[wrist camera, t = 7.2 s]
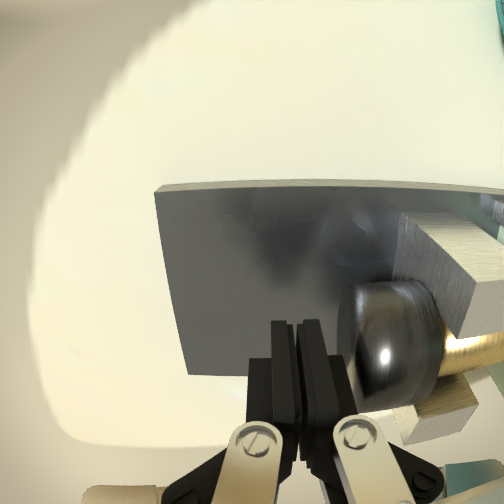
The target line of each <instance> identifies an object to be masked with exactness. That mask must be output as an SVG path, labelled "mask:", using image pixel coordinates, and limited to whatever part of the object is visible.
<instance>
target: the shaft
mask: <svg viewBox="0 0 504 504" xmlns="http://www.w3.org/2000/svg"><path fill="white" fill-rule="evenodd" d="M338 354H341V355H342V356H343V359H344V362H345V366H346V369H347V373H348V377H349V381H350V384H351V388H352V392H353V396H354V400H355V404H356V408H357V412H358V414H359V413H367V412H374V411H381V410H388V409H394V408H400V407H405V406H411V405H416V404H420V403H422V402H424V401H425V400H426V399H427V398H428V397H429V395H430V394H431V392H432V391H433V389H434V386H435V384H436V382H437V378H438V377H441V376H446V375H451V374H456V373H460V372H464V371H469V370H473V369H477V368H481V367H485V366H489V365H492V364H496V363H500V362H503V361H504V331H502V332H498V333H493V334H488V335H483V336H478V337H473V338H468V339H462V340H456V339H455V337H454V336H453V334H452V333H451V331H450V330H449V328H448V327H447V325H446V324H445V322H444V321H443V319H442V318H441V316H440V315H439V313H438V312H437V309H436V306H435V304H434V301H433V299H432V297H431V295H430V294H429V292H428V290H427V289H426V288H425V287H424V286H423V285H422V284H421V283H420V282H418V281H415V280H406V281H387V282H367V283H349V284H347V285H346V286H345V288H344V290H343V292H342V295H341V299H340V304H339V310H338V319H337V355H338Z"/></svg>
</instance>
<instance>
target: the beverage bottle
mask: <svg viewBox="0 0 504 504" xmlns="http://www.w3.org/2000/svg"><path fill="white" fill-rule="evenodd" d="M496 10H497V15H498V20H499V23H500V27H501V29H502V32H503V35H504V0H496Z"/></svg>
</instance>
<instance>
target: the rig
mask: <svg viewBox="0 0 504 504" xmlns="http://www.w3.org/2000/svg"><path fill="white" fill-rule="evenodd" d="M154 197H155V204H156V211H157V218H158V225H159V232H160V238H161V244H162V250H163V256H164V262H165V268H166V273H167V279H168V284H169V290H170V295H171V300H172V305H173V310H174V314H175V319H176V324H177V329H178V333H179V338H180V342H181V346H182V351H183V355H184V359H185V363H186V367H187V371H188V375H211V376H248V369H249V358H271V321H274V320H286V321H287V324H293V331H294V339H295V347H296V331H297V324H302V322H303V320H304V319H319V321H320V325H321V329H322V333H323V338H324V342H325V346H326V351H327V355H337V319H338V310H339V304H340V299H341V295H342V292H343V290H344V288H345V286H346V285H347V284H349V283H367V282H387V281H406V280H415V281H418V282H420V283H421V284H422V285H423V286H424V287H425V288H426V289H427V290H428V292H429V294H430V295H431V297H432V299H433V301H434V304H435V306H436V309H437V312H438V313H439V315H440V316H441V318H442V319H443V321H444V322H445V324H446V325H447V327H448V328H449V330H450V331H451V333H452V334H453V336H454V337H455V339H456V340H462V339H468V338H473V337H478V336H483V335H488V334H493V333H498V332H502V331H504V246H503V245H502V244H501V243H499V242H498V241H497V237H498V232H499V228H500V224H502V225H503V226H504V190H503V189H494V188H484V187H474V186H463V185H450V184H437V183H421V182H403V181H379V180H336V179H292V180H247V181H223V182H203V183H187V184H172V185H162V186H161V187H160V188H159V189H157V190H156V191H155V192H154ZM478 405H479V403H478V401H477V399H476V397H475V396H474V394H473V392H472V390H471V388H470V386H469V384H468V383H467V381H466V379H465V377H464V375H463V374H462V372H460V373H456V374H451V375H446V376H441V377H438V378H437V382H436V384H435V386H434V389H433V391H432V392H431V394H430V395H429V397H428V398H427V399H426V400H425V401H424V402H422V403H420V404H416V405H411V406H405V407H400V408H394V409H392V411H393V414H394V417H395V420H396V422H397V426H398V429H399V432H400V436H401V439H402V442H403V446H406V445H410V444H415V443H419V442H423V441H427V440H431V439H435V438H439V437H442V436H446V435H450V434H453V433H456V432H460V431H461V430H462V429H463V427H464V426H465V424H466V423H467V421H468V420H469V418H470V417H471V416H472V414H473V413H474V411H475V409H476V408H477V406H478Z"/></svg>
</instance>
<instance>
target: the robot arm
mask: <svg viewBox="0 0 504 504" xmlns="http://www.w3.org/2000/svg"><path fill="white" fill-rule="evenodd" d="M298 444H299V450H300V460H301V461H306V464H307V468H310V469H311V473H312V474H313V475H314V476H316V477H317V478H319V481H320V485H321V489H322V492H323V496H324V499H325V503H326V504H504V465H503V464H502V463H501V462H500V461H497V460H495V459H489V460H483V461H475V462H467V463H458V464H447V465H445V466H444V467H436V466H435V465H433V464H431V463H429V462H427V461H425V460H423V459H421V458H419V457H417V456H415V455H413V454H411V453H409V452H407V451H405V450H403V449H401V448H399V447H397V446H395V445H393V444H391V443H390V442H388V441H387V440H386V438H385V436H384V433H383V431H382V429H381V427H380V426H379V425H378V423H377V422H376V421H374V420H373V419H372V418H370V417H367V416H363V415H358V412H357V408H356V404H355V400H354V396H353V392H352V388H351V384H350V381H349V377H348V373H347V369H346V366H345V362H344V359H343V356H342V355H341V354H338V355H327V351H326V346H325V342H324V338H323V333H322V329H321V325H320V321H319V319H304V320H303V322H302V324H297V331H296V347H295V339H294V331H293V324H287V321H286V320H274V321H271V358H249V369H248V389H247V409H246V423H244V424H243V425H241V426H239V427H238V428H237V429H236V430H235V431H234V432H233V433H232V435H231V437H230V441H229V444H228V447H227V448H225V449H224V450H223V451H222V452H220V453H218V454H217V455H215V456H214V457H213V458H211V459H210V460H208V461H206V462H205V463H203V464H202V465H200V466H199V467H197V468H196V469H194V470H193V471H191V472H190V473H188V474H187V475H185V476H183V477H182V478H180V479H178V480H177V481H175V482H174V483H172V484H171V485H169V486H168V487H156V486H155V485H144V486H112V485H111V486H110V485H97V486H92V487H90V488H89V489H87V490H86V492H85V493H84V494H83V497H82V503H81V504H276V503H277V497H278V491H279V485H280V483H282V482H283V481H284V480H285V479H286V478H287V477H289V476H290V475H291V470H292V463H293V461H296V457H297V451H298Z"/></svg>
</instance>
